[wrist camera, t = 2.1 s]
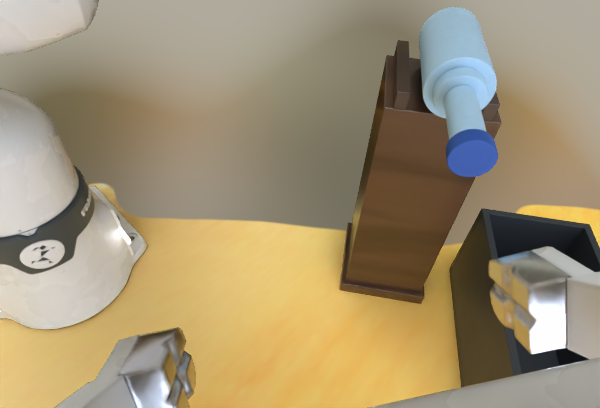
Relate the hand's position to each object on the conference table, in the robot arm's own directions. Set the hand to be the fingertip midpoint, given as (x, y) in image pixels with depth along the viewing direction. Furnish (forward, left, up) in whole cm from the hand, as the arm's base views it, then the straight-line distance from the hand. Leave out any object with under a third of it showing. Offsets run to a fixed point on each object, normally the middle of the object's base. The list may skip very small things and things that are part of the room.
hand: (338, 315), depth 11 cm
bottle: (-12, +21, -8) cm, 25 cm away
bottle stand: (-16, +24, -34) cm, 44 cm away
